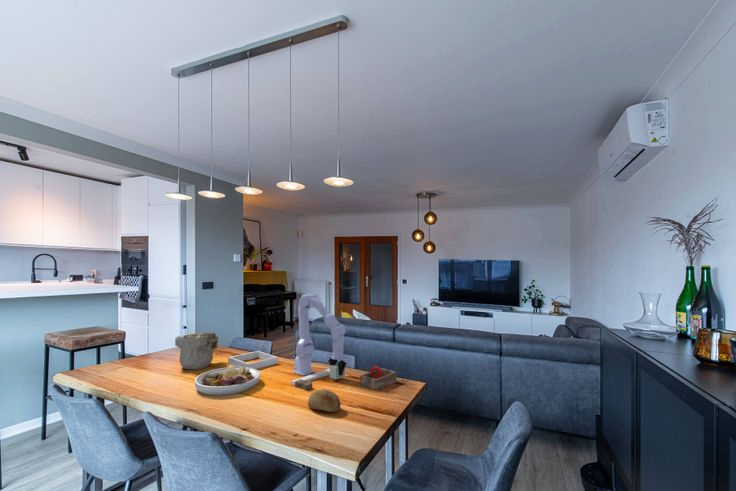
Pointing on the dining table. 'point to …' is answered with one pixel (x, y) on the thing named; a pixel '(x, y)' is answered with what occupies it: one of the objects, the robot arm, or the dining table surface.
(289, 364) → the dining table surface
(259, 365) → the frame
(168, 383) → the dining table surface
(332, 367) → the cabinet block
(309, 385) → the cleat
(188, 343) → the ceramic vessel
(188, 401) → the dining table surface
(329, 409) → the bread roll
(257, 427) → the dining table surface
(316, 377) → the white flat plank
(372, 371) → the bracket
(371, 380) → the wooden box
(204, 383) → the bowl
